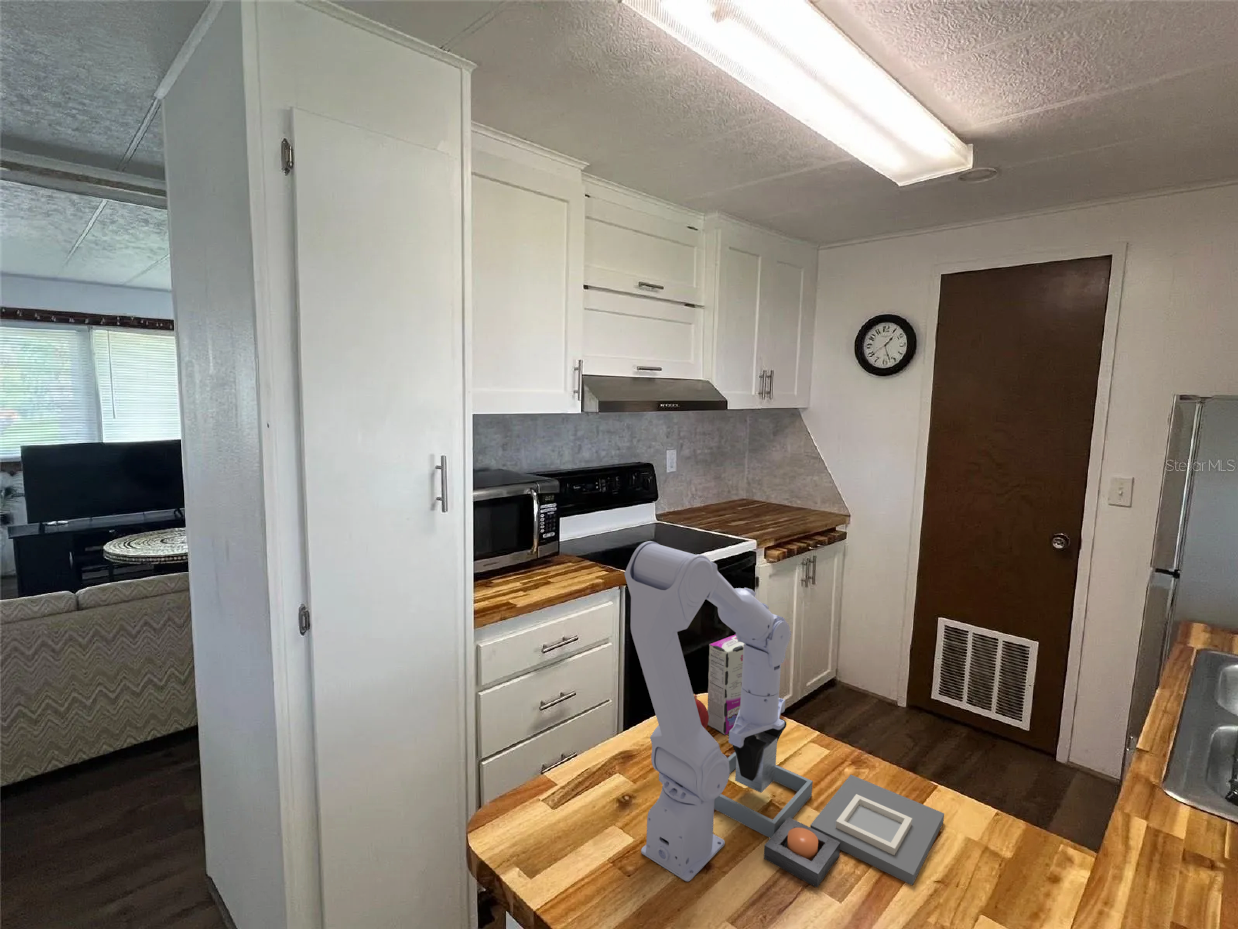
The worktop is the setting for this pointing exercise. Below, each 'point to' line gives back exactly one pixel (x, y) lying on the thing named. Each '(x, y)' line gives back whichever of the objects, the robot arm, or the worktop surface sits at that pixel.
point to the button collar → (797, 864)
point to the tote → (759, 820)
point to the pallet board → (880, 827)
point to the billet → (762, 765)
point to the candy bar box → (724, 683)
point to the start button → (803, 843)
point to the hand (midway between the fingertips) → (755, 770)
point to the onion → (702, 712)
